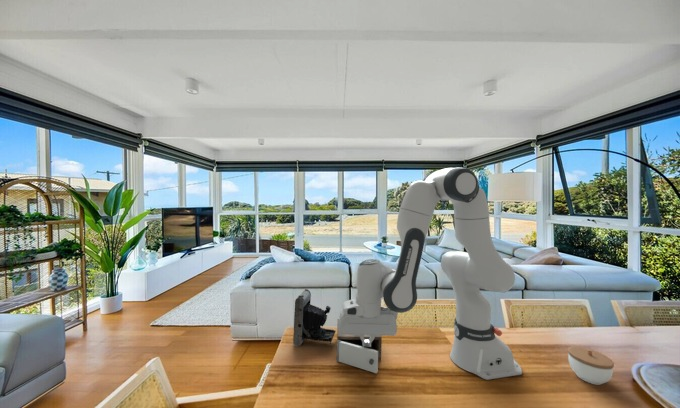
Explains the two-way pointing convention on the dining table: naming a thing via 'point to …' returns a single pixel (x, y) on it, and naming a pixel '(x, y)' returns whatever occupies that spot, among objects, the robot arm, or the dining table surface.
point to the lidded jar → (590, 365)
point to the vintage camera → (310, 321)
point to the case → (357, 340)
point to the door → (357, 356)
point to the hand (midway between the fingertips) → (366, 345)
